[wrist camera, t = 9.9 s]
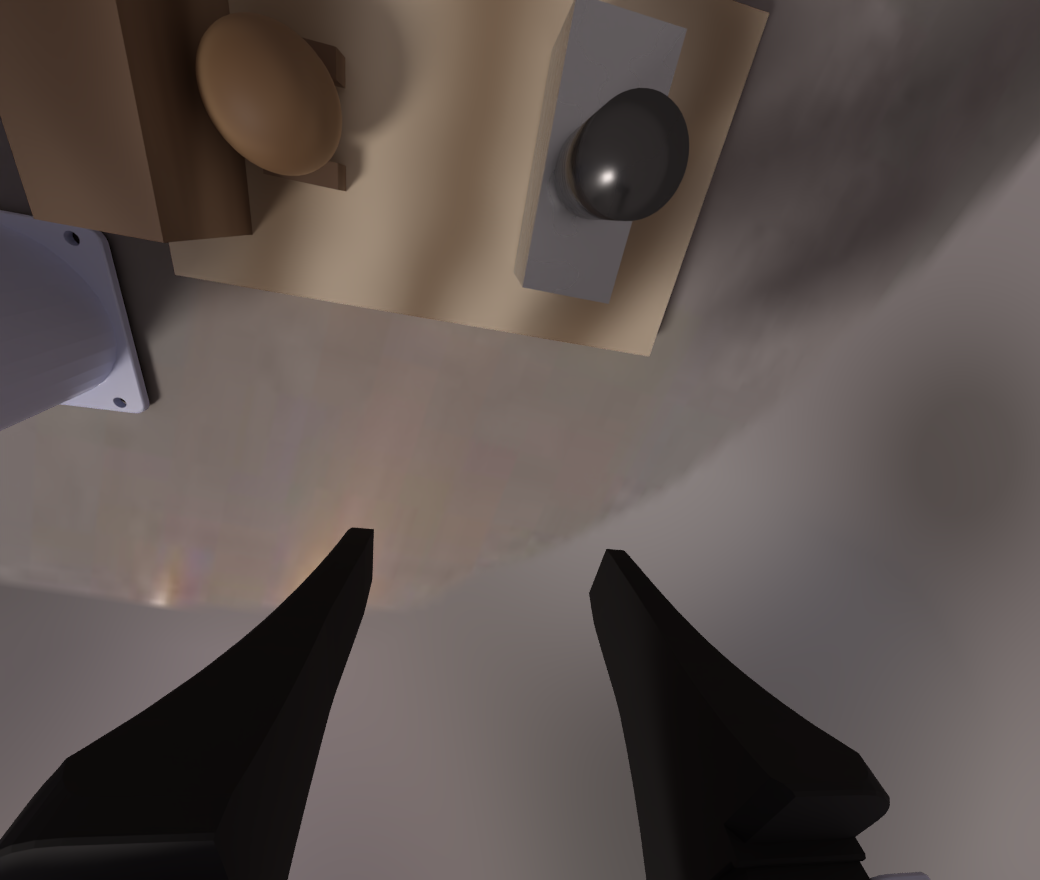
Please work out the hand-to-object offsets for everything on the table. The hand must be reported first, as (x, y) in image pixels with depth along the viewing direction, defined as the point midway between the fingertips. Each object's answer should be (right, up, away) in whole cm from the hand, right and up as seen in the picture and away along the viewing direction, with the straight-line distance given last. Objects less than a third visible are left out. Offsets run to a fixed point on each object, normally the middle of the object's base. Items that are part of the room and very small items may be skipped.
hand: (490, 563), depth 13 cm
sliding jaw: (+3, +14, +3) cm, 14 cm away
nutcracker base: (-2, +15, +3) cm, 15 cm away
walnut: (-6, +14, -1) cm, 15 cm away
